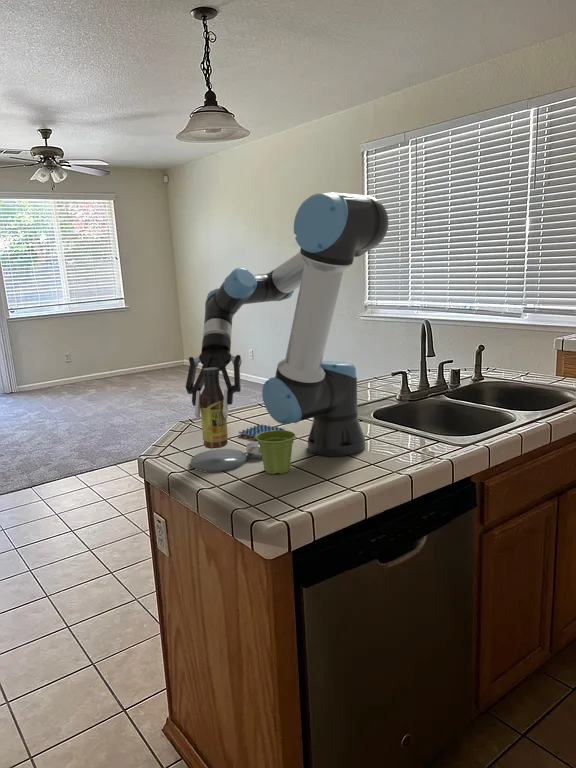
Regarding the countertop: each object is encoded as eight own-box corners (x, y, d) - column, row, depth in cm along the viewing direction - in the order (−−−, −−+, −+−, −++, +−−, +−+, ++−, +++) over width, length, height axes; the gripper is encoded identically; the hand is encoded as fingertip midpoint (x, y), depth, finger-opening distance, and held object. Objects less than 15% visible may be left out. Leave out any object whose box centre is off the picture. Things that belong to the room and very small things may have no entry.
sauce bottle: (216, 451, 138) (208, 372, 134) (198, 447, 142) (190, 370, 138) (234, 443, 143) (227, 367, 139) (216, 440, 147) (209, 365, 143)
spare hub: (274, 453, 148) (273, 442, 148) (262, 460, 143) (262, 449, 142) (254, 451, 151) (253, 440, 150) (242, 458, 146) (241, 447, 145)
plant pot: (275, 460, 142) (273, 427, 140) (304, 467, 136) (303, 433, 134) (249, 472, 135) (247, 437, 133) (280, 480, 129) (277, 444, 127)
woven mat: (264, 444, 157) (263, 437, 157) (237, 438, 164) (236, 431, 164) (288, 434, 165) (287, 427, 165) (261, 429, 172) (260, 423, 171)
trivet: (256, 456, 146) (256, 451, 146) (226, 475, 134) (226, 470, 134) (212, 450, 153) (211, 446, 152) (179, 468, 140) (179, 463, 140)
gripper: (254, 346, 153) (252, 421, 140) (184, 350, 154) (175, 424, 141) (250, 329, 146) (248, 406, 134) (178, 333, 147) (168, 409, 135)
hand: (211, 415), depth 137 cm, fingers closed on sauce bottle, 6 cm apart
